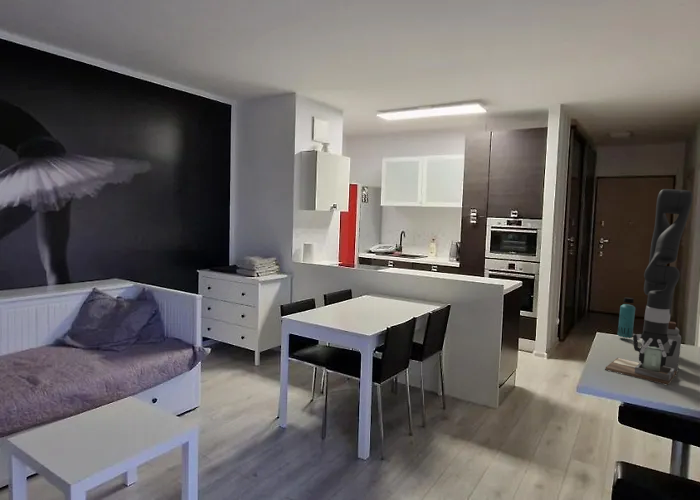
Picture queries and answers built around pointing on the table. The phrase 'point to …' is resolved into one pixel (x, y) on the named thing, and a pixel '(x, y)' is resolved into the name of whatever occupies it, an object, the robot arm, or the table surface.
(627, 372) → the wooden panel with label
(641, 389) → the table surface
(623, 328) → the beverage bottle
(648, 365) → the pale green rounded piece
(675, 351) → the perfume bottle
